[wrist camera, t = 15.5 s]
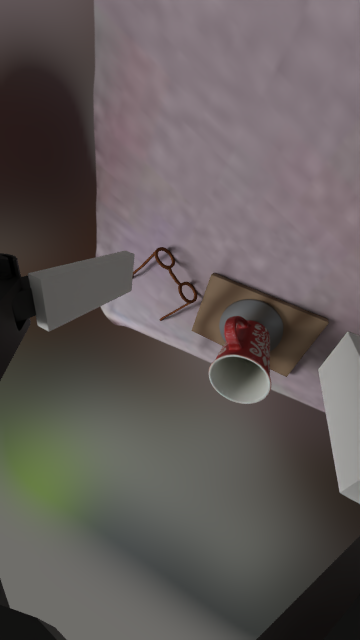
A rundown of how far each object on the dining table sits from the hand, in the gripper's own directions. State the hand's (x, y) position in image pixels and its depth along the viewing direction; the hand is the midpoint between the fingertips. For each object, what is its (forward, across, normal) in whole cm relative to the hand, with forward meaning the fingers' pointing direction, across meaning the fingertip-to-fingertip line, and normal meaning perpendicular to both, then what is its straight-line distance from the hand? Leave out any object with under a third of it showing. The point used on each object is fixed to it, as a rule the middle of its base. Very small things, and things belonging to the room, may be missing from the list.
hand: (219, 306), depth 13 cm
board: (+29, -3, +15) cm, 33 cm away
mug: (+27, -3, +15) cm, 31 cm away
